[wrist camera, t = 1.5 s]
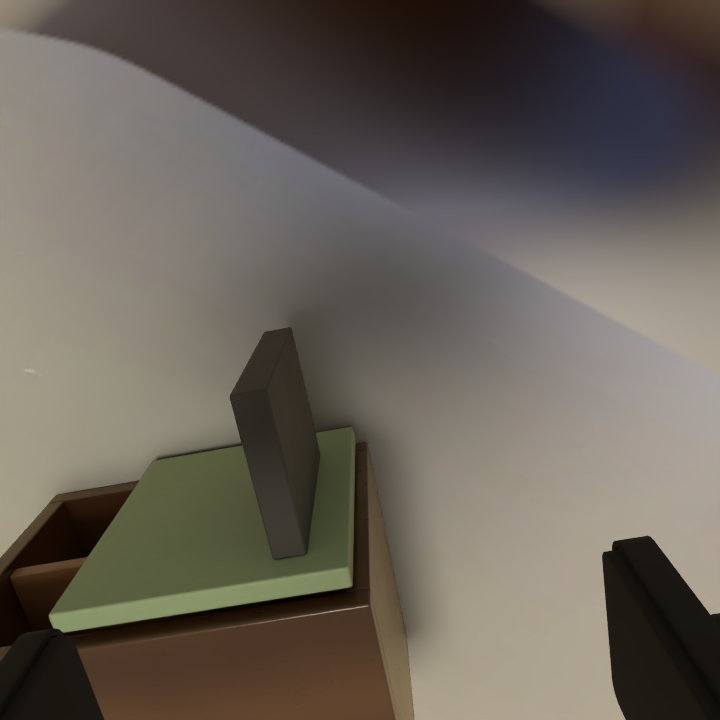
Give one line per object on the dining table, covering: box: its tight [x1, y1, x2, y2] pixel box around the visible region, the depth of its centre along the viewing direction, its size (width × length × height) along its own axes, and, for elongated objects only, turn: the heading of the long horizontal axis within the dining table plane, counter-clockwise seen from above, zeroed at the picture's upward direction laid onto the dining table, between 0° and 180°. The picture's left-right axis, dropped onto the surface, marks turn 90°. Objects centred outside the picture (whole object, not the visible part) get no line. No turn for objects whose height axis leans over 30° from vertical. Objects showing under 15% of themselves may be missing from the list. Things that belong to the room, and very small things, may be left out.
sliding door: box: [49, 327, 356, 633], centre depth 25 cm, size 7×10×11 cm
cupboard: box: [0, 442, 415, 720], centre depth 28 cm, size 12×16×12 cm
